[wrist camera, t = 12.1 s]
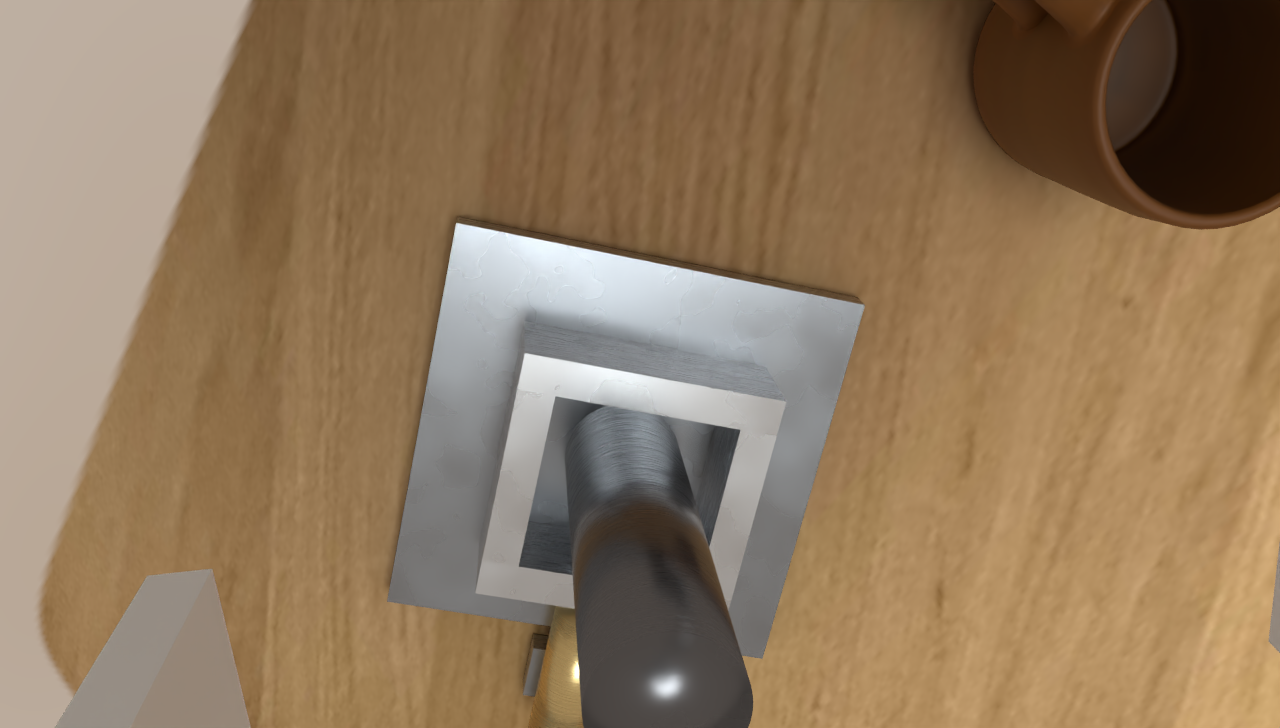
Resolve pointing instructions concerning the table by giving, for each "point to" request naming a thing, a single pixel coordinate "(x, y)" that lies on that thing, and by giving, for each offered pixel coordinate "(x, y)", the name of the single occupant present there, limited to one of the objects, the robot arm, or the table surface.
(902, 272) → the table surface
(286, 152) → the table surface
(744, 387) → the open box on baseplate
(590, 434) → the dark cylinder
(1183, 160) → the mug
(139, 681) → the robot arm
